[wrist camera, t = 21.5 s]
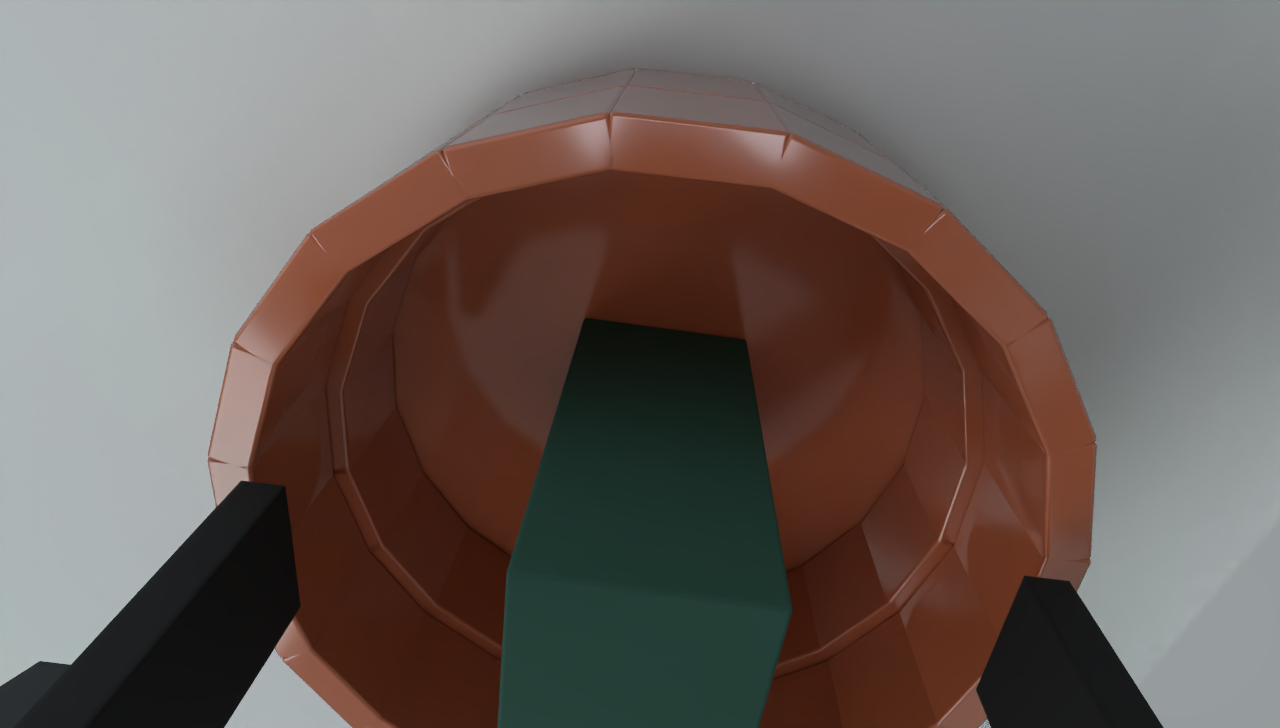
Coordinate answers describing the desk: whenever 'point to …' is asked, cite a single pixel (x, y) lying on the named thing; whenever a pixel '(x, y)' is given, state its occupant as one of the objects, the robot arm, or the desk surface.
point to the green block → (647, 544)
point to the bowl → (670, 299)
